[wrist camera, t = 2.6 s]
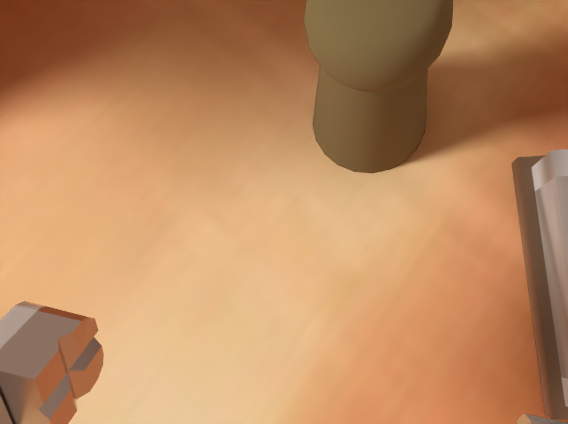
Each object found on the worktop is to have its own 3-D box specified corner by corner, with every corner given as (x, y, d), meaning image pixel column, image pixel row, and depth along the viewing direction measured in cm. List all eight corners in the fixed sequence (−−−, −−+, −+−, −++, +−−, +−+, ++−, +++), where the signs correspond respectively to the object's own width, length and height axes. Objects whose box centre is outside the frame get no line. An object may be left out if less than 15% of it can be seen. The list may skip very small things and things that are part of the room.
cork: (375, 47, 28) (390, -125, 17) (450, 124, 26) (518, -11, 15) (290, 114, 27) (251, -17, 17) (360, 195, 26) (367, 108, 15)
